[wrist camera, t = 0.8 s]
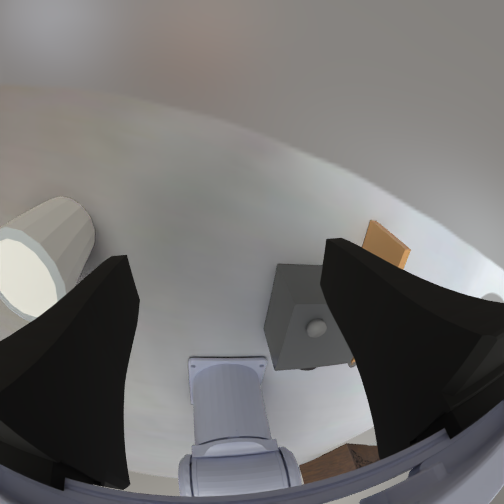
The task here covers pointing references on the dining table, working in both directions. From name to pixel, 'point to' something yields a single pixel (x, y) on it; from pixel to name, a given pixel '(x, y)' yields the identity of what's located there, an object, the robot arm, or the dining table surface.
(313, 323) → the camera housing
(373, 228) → the side door
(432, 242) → the dining table surface
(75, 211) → the white cup
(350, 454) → the tissue box cover
